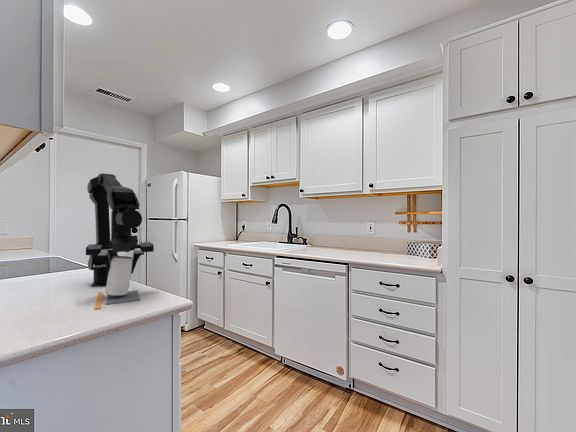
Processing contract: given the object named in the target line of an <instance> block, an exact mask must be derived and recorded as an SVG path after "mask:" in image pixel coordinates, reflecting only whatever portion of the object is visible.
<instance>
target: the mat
mask: <svg viewBox="0 0 576 432" xmlns="http://www.w3.org/2000/svg"><path fill="white" fill-rule="evenodd" d="M138 291H139V290H137V289H136V290H135V289H134V290H129V291H128V293H127V294H126V295H123V296H110V295H107V294H106V302H105V305H106V306H109V305H116V304H118V305H119V304H124V303H133V302H138V301H139V302H140V301H141V298H140V294H139V292H138Z"/></svg>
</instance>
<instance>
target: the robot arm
mask: <svg viewBox="0 0 576 432" xmlns="http://www.w3.org/2000/svg"><path fill="white" fill-rule="evenodd" d="M116 177H117V176H116V175H114V174H113V173H112V174H111V173H98V175H97V176H96V177H93V178H90V180H89V181H88V184H87V193H88V194H89V199H90V201H91V202H92V203H93V205H94V213H95V215H94V216H95V240H96V241H95V242H96V243H95V244H93V243H91V244H88V245H87V246H86V247H85V256H89V258H88V261H87V268H88V270H90V271H93V282H92V284H91V287H100V286H106V285H107V279H108V273H109V270H110V261H111V260H112V258H113V256H119V255H118V253H120V252H121V253H124V252H125V253H129V252H132V261H133V263H132V271H131V275H133V274H134V270H135V269H136V265H137V263H138V260H139V259H140V257H141V256H144V255H145V253H150V252H151V253H153V252H154V249H155V248H154V243H152V242H150V241H143V242H139V244H138V235H132V229H136V228H138V227H139V226H141V224H142V221H143V217H142V214H141V213H140V212H139V211H138V210H140V202H139V200H138V196H137V195H136V193H135V192H134V190H133V189H131V188H130V187H126V186H123V185H122V184H121V183H120V181H118V179H117V178H116ZM110 210H111V215H110ZM110 216H111V220H110ZM110 221H111V222H110Z"/></svg>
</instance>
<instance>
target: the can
mask: <svg viewBox="0 0 576 432" xmlns="http://www.w3.org/2000/svg"><path fill="white" fill-rule="evenodd" d="M132 259H133V256H127V255H118V256H113V258H112V260H111V261H110V270H109V273H108V279H107V285H105V294H106V296H107V295H110V296H123V295H126V294H127V293H128V291H130V290H129V289H130V285H131V284H130V283H131V277H132V274H131V271H132V263H133V261H132Z"/></svg>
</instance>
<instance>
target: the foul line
mask: <svg viewBox="0 0 576 432" xmlns="http://www.w3.org/2000/svg"><path fill="white" fill-rule="evenodd" d="M103 298H104V291H103V292H102V291H101V292H97V296H96V300H95V306H94V308H93V309H94V310H96V311H97V310H101V309H102V303H103Z"/></svg>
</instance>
